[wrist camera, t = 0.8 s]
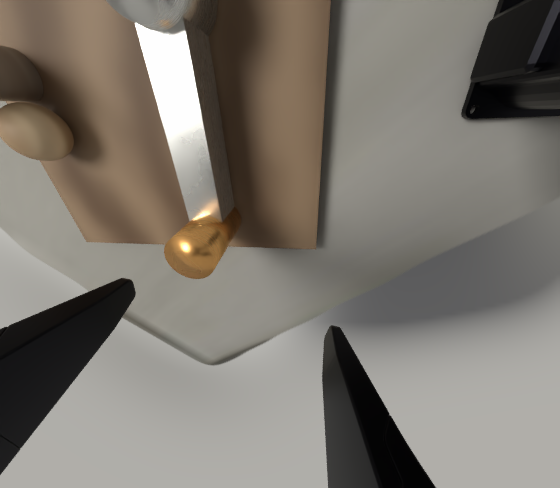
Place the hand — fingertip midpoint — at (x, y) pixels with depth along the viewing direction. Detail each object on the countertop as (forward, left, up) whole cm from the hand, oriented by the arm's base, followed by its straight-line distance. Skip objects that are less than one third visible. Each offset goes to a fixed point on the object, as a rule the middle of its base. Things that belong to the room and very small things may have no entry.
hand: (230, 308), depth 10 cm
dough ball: (+15, -7, -8) cm, 19 cm away
